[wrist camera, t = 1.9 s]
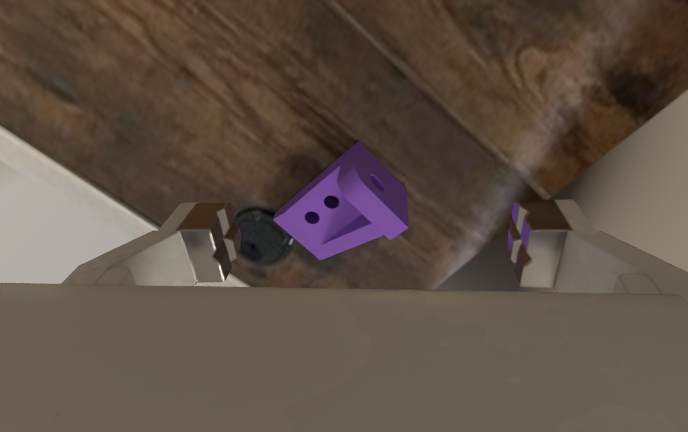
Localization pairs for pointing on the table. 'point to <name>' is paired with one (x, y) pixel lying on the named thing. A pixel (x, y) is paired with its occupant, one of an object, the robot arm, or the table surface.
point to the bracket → (346, 205)
